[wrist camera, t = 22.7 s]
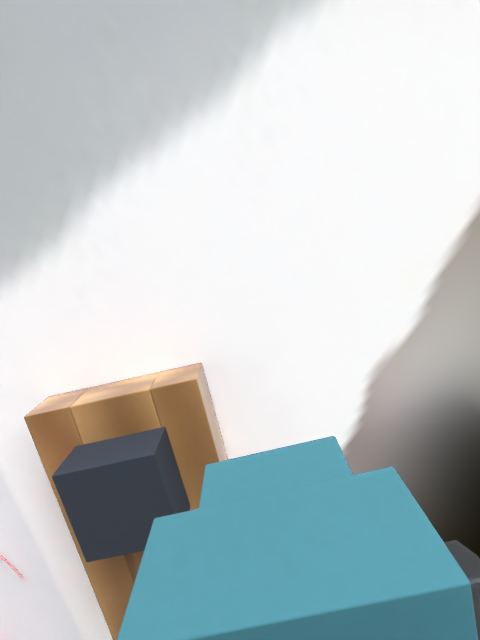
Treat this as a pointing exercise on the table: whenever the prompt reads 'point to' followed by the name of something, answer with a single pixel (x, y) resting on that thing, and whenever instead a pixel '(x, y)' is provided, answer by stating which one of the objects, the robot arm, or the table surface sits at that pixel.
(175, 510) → the dark grey cube
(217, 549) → the teal stepped block
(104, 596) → the block
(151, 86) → the table surface
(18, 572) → the figurine
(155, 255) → the table surface
